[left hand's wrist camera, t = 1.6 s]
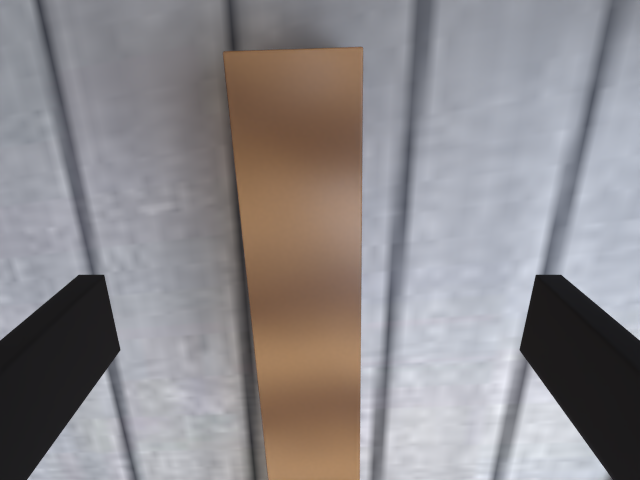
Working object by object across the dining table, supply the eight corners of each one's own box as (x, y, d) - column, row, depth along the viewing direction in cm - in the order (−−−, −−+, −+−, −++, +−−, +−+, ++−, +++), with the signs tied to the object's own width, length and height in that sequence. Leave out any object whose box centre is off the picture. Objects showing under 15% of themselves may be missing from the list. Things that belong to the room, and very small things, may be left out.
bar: (251, 58, 24) (222, 51, 16) (348, 55, 24) (363, 46, 16) (298, 620, 44) (294, 730, 37) (350, 619, 44) (357, 729, 37)
